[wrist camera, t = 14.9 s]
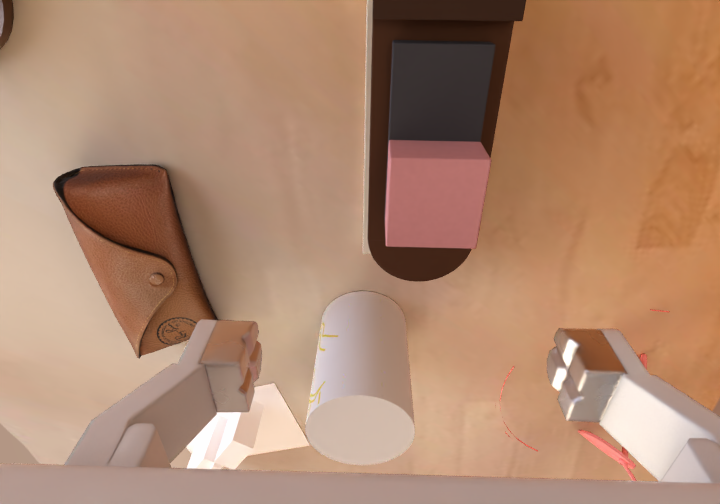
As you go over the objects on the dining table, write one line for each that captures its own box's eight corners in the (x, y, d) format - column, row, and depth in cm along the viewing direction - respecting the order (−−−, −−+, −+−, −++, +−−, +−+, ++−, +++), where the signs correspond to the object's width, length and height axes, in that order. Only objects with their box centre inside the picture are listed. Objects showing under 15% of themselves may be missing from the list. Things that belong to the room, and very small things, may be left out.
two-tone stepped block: (392, 39, 25) (395, 51, 21) (491, 41, 25) (510, 53, 21) (384, 217, 31) (385, 249, 27) (464, 219, 30) (475, 252, 27)
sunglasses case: (228, 334, 44) (172, 382, 39) (182, 315, 48) (126, 356, 43) (165, 160, 35) (82, 195, 30) (114, 152, 38) (33, 182, 34)
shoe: (367, -28, 28) (365, -28, 22) (502, -27, 28) (539, -25, 22) (363, 244, 39) (360, 298, 32) (460, 247, 39) (477, 301, 32)
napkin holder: (200, 464, 57) (184, 510, 52) (152, 406, 51) (128, 452, 46) (311, 445, 54) (305, 491, 49) (273, 381, 48) (262, 427, 43)
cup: (316, 293, 42) (296, 397, 31) (403, 288, 41) (413, 392, 31) (327, 357, 46) (313, 466, 36) (407, 353, 45) (416, 463, 35)
